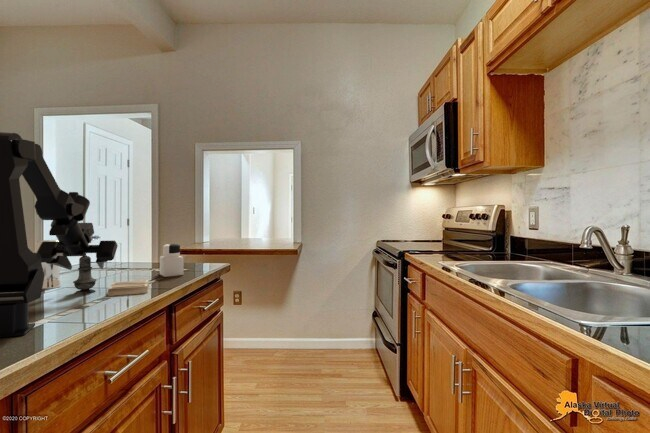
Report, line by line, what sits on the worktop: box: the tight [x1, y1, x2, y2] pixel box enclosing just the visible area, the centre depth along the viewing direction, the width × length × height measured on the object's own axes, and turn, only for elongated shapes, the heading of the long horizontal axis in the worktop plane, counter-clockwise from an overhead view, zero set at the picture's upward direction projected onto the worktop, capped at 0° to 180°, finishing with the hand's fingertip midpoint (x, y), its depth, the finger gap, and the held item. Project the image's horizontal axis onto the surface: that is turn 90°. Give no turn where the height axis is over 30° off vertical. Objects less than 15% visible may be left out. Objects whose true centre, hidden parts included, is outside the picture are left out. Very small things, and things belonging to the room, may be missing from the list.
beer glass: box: [34, 239, 62, 290], centre depth 107 cm, size 7×7×15 cm
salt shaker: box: [72, 253, 98, 296], centre depth 101 cm, size 6×6×12 cm
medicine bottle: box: [159, 243, 185, 278], centre depth 131 cm, size 7×7×12 cm
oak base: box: [107, 279, 150, 297], centre depth 103 cm, size 10×10×2 cm
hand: (87, 268), depth 102 cm, fingers open, 8 cm apart
